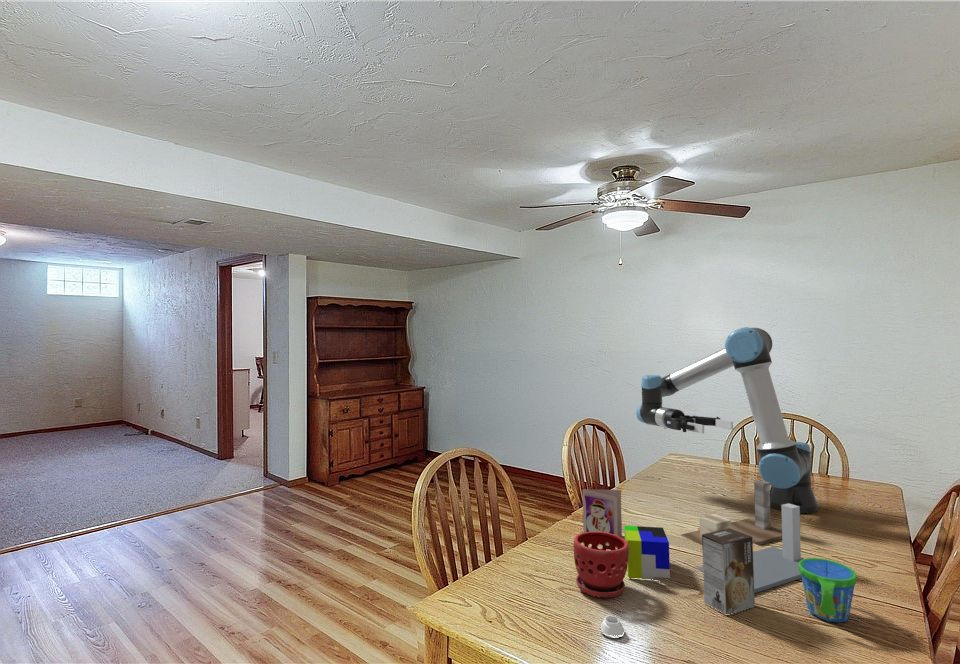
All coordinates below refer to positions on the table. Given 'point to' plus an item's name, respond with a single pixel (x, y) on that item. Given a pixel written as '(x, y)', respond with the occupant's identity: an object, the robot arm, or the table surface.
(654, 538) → the puzzle toy
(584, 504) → the greeting card
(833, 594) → the snack cup
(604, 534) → the plant pot
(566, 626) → the table surface
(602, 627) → the grey tapered hollow piece
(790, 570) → the base plate with post
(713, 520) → the beech block
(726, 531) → the coffee box
